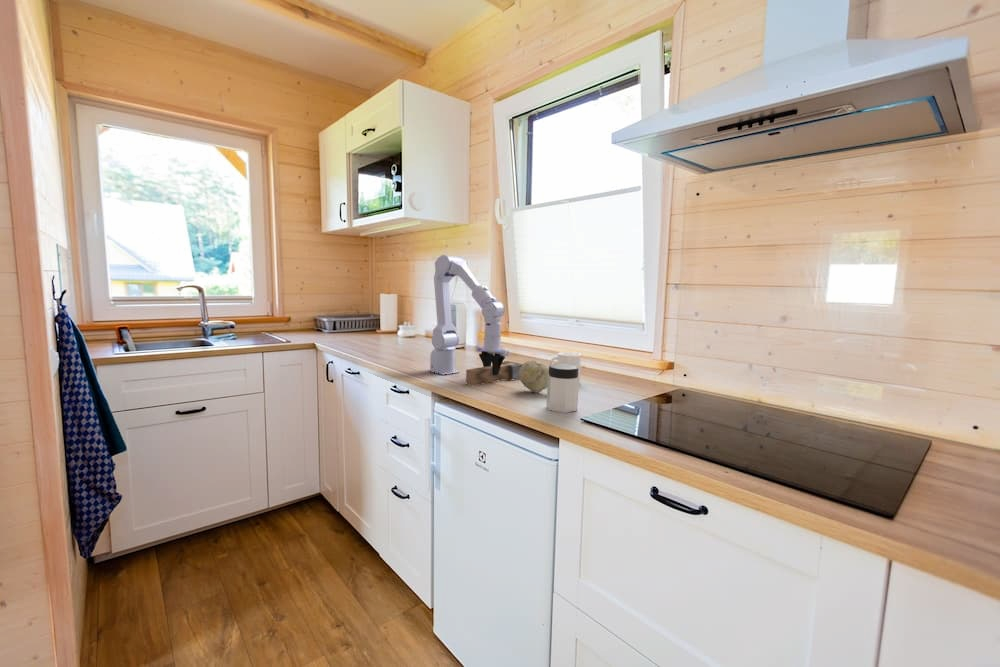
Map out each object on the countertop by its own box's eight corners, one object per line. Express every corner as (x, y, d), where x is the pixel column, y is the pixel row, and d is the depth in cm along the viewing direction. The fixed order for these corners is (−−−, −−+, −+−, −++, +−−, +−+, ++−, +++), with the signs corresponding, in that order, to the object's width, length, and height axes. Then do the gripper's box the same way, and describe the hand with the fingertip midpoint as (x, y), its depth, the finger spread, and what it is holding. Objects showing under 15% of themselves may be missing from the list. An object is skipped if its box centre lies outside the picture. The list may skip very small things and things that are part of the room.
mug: (543, 380, 160) (544, 352, 159) (555, 376, 167) (556, 350, 166) (572, 385, 153) (573, 356, 152) (583, 382, 159) (585, 353, 158)
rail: (509, 375, 167) (509, 362, 166) (516, 377, 164) (516, 364, 164) (466, 384, 151) (466, 369, 150) (472, 385, 148) (473, 371, 148)
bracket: (494, 375, 165) (494, 362, 165) (506, 373, 170) (507, 360, 170) (513, 380, 158) (514, 366, 158) (526, 377, 163) (527, 364, 163)
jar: (564, 403, 130) (565, 363, 128) (583, 410, 123) (585, 367, 122) (540, 407, 125) (541, 365, 124) (559, 414, 118) (561, 370, 117)
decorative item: (512, 391, 143) (513, 360, 142) (528, 386, 149) (529, 357, 148) (542, 398, 135) (543, 365, 134) (558, 393, 141) (559, 362, 140)
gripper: (470, 334, 158) (469, 371, 159) (499, 338, 148) (498, 378, 149) (484, 333, 163) (483, 369, 164) (513, 337, 153) (512, 376, 154)
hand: (491, 373), depth 157 cm, fingers closed on rail, 3 cm apart
